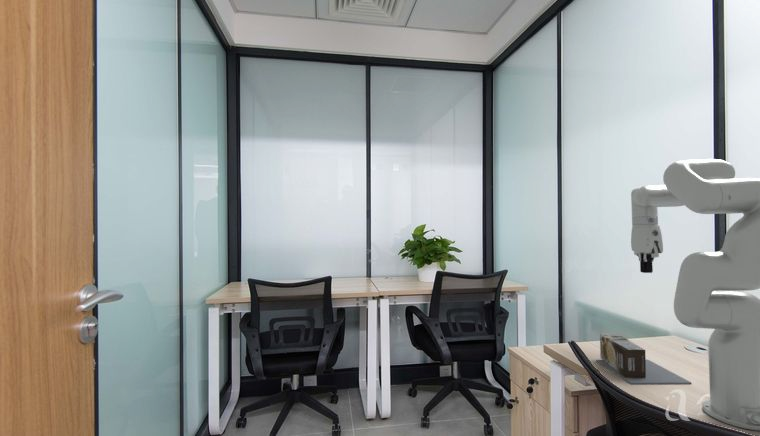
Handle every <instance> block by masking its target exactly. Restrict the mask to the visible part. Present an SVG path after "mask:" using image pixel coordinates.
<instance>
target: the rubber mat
mask: <svg viewBox="0 0 760 436" xmlns="http://www.w3.org/2000/svg"><path fill="white" fill-rule="evenodd" d="M595 361H596V362H597V363H598V364H600V365H601V366H603V368H606V369H607V370H609V371H610V372H612V373H613V374H614V375H616V376H618V377H619V378H621V379H622V380H624V381H625V382H627V383H628V384H629V385H692V382H691V381H689V380H688V379H686V378H683V377H682V376H680V375H678V374H677V373H674V372H672V371H671V370H668V369H667V368H665V367H663V366H662V365H659V364H657V363H656V362H653V361H651V360H649V359H646V378H626V377H624V376H623V375H621V374H620V373H619V372H618V371H616V370H615V369H614V368H613V367H611V366H610V365H609V364H607V363H606V362H605V361H604V360H602V359H596V360H595Z"/></svg>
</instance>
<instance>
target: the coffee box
mask: <svg viewBox="0 0 760 436" xmlns="http://www.w3.org/2000/svg"><path fill="white" fill-rule="evenodd" d="M599 345H600V347H599V348H600V355H599V356H600V360H604V361H605V362H606V363H607V364H609V365H610V366H611V367H613V368H614V369H615V370H616V371H618V372H619V373H620V374H621V375H623V376H624V377H626V378H646V360H647V358H646V357H647V356H646V349H644V348H642V347H641V346H639V345H638V344H637V343H634V341H633V342H632V341H631V340H629V339H628V338H626V337H624V336H622V335H621V334H619V333H606V332H604V333H599Z"/></svg>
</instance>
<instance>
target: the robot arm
mask: <svg viewBox="0 0 760 436" xmlns="http://www.w3.org/2000/svg"><path fill="white" fill-rule="evenodd" d="M735 176H736V170H735V167H734V166H733V164H731V163H730V162H728V161H725V160H723V159H716V158H714V159H713V158H705V159H704V158H703V159H686V160H684V159H683V160H678V161H675V162H672V163H671V164H669V165H668V166H667V168H666V169H665V170H664V173H663V184H657V185H656V184H655V185H653V184H652V185H644V186H641V187H638V188H633V189H632V190H631V192H630V200H631V224H632V225H631V226H632V227H631V235H630V245H631V251H632V252H633V255H635V256H637V257H638V261H639V264H640V265H639V267H640V268H639V269H640V271H639V272H640V273H643V274H644V273H645V274H652V273H653V269H654V268H653V267H654V266H653V262H654V260H655V258H659V257H660V255H659V254H662V253H664V244H663V243H664V242H663V235H662V229H661V227H660V225H659V218H658V217H659V213H658V208H665V207H666V208H671V207H673V208H675V207H682V206H685V207H686V208H687V209H688V210H690V211H691V212H694V213H695V214H699V215H700V214H701V215H717V214H718V215H720V214H721V215H723V214H724V215H726V214H743V216H742V217H741V218H739V219H738V220H736V221H735V223H733V224H732V225H731V227H730V228H728V230H727V231H726V233H725V237H724V241H723V244H722V247H721V249H720V250H718V251H698V252H692V253H690V254H688V255H687V256H686V257H685V258H684V259H683V260H682V262H681V265H680V267H679V272H678V278H677V283H676V288H675V292H674V299H673V312H674V315H675V318H676V319H677V320H678V321H679V322H680V324H681V325H683V326H686V327H688V328H693V329H709V330H710V329H711V330H712V329H714V330H713V331H712V332H711V335H710V337H709V339H708V345H707V346H708V347H707V348H708V349H707V351H708V352H707V353H708V377H709V399H708V400H704V401H703V402H702V403H701V405H702V410H703V411H704V412H705V413H706V414H707V415H709V416H711V417H712V418H714V419H716V420H718V421H720V422H722V423H725V424H727V425H729V426H730V425H731V426H734V427H737V428H740V429H746V430H751V431H760V298H758V297H757V296H756V295H754V294H751V293H749V292H747V291H755V290H758V289H760V178H756V177H754V178H753V177H752V178H751V177H747V178H744V177H743V178H735ZM745 291H746V292H745Z"/></svg>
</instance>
